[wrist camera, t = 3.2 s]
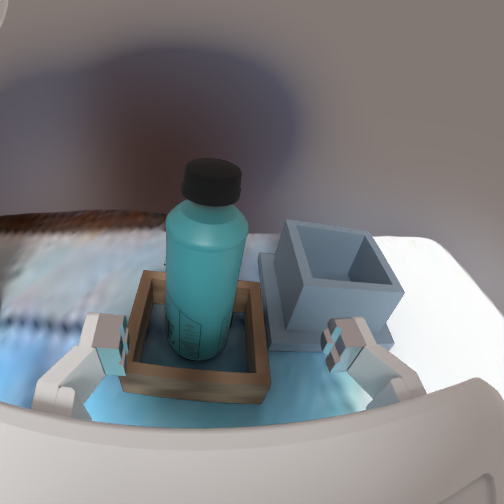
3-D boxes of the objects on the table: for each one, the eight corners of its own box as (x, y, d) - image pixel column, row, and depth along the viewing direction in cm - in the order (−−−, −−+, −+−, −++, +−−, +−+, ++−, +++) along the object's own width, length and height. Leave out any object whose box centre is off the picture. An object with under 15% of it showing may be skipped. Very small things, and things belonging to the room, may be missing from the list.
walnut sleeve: (123, 391, 26) (116, 370, 23) (145, 294, 36) (143, 269, 34) (261, 403, 28) (271, 385, 25) (253, 306, 38) (259, 282, 36)
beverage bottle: (238, 352, 32) (283, 176, 21) (188, 381, 28) (202, 193, 17) (202, 314, 36) (224, 145, 24) (153, 337, 32) (150, 155, 20)
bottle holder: (268, 350, 33) (288, 297, 28) (258, 260, 46) (270, 210, 41) (389, 350, 36) (422, 304, 31) (355, 270, 49) (375, 226, 44)
